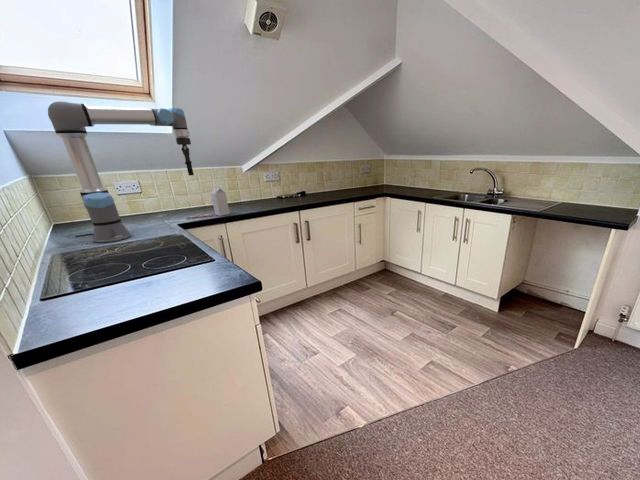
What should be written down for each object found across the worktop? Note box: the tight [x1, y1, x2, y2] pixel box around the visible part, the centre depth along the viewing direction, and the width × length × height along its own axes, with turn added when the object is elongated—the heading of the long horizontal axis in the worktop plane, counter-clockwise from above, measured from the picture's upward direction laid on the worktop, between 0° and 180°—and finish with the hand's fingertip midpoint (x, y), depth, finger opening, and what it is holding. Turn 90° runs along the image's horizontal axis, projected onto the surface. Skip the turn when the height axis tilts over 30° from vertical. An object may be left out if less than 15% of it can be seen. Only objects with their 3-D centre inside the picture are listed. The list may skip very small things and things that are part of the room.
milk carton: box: [210, 185, 231, 217], centre depth 206 cm, size 7×7×19 cm
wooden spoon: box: [186, 213, 213, 220], centre depth 203 cm, size 15×5×1 cm, turn 119°
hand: (191, 174), depth 188 cm, fingers open, 13 cm apart
